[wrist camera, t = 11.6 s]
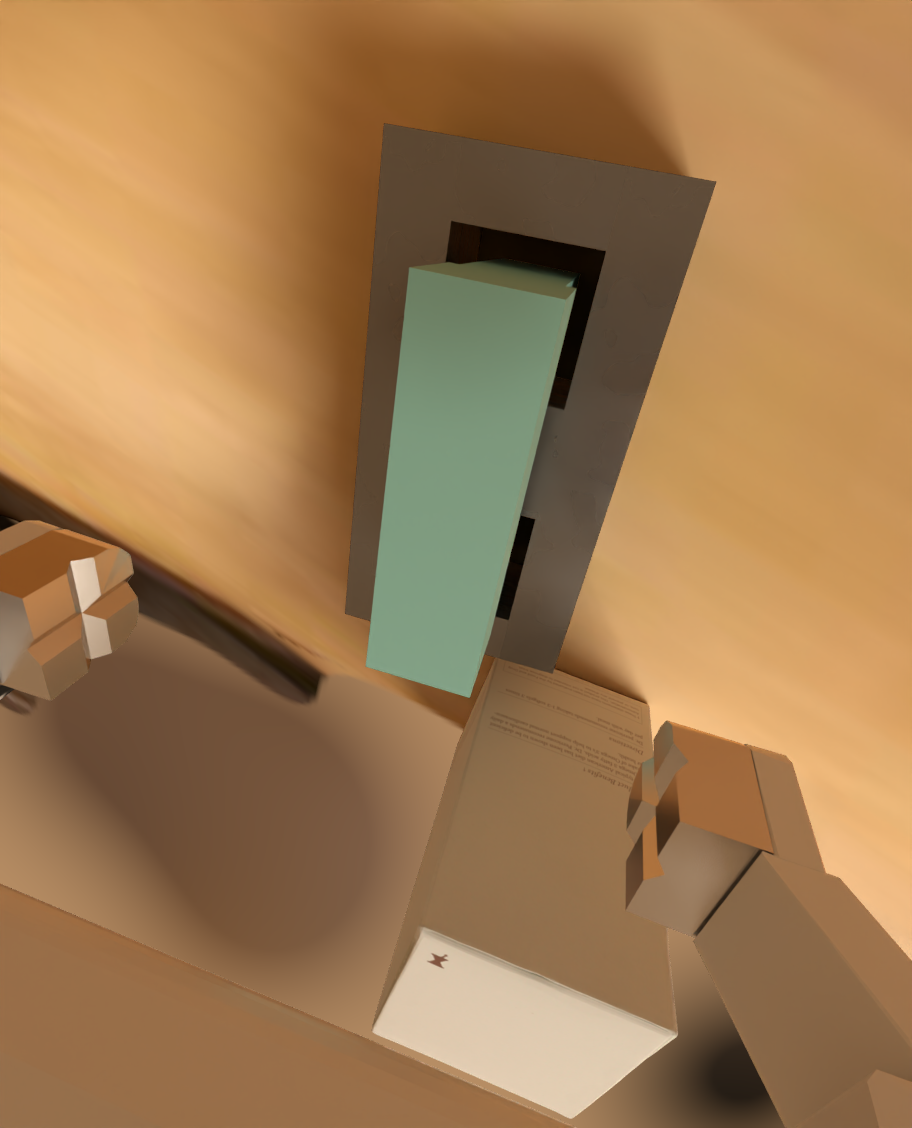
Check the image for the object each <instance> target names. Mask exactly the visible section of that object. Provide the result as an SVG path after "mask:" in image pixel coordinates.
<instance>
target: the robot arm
mask: <svg viewBox="0 0 912 1128" xmlns="http://www.w3.org/2000/svg"><path fill="white" fill-rule="evenodd" d="M133 574H134V572H133V567H132V562H131V557H130V554H128V553H127V552H125V551H124V550H122V549H121V548H119V547H116V546H113V545H110V544H107V543H104V542H101V541H98V540H95V539H93V538H90V537H87V536H84V535H81V534H78V533H75V532H72V531H69V530H66V529H65V530H64V529H61V528H59V527H56V526H53V525H50V524H47V523H44V522H41V521H22V522H20V523H18V524H16V525H14V526H11V527H9V528H7V529H5V530H2V531H0V684H1V685H4V686H7V687H10V688H13V689H16V690H19V691H22V692H25V693H28V694H31V695H34V696H37V697H40V698H44V699H47V700H50V701H51V700H52V699H54V698H55V697H56V696H58V695H59V694H60V693H61V692H63V691H64V690H65V689H67V688H68V687H69V686H70V685H72V684H73V683H74V682H76V681H77V680H78V679H79V678H81V677H82V676H83V675H85V674H86V673H87V672H88V671H89V666H90V662H91V659H93V658H96V657H100V656H103V655H107V654H110V653H112V652H113V651H115V650H116V649H117V648H118V647H120V646H121V645H122V644H123V643H124V642H125V641H126V640H127V639H128V637H129V635H130V634H131V632H132V630H133V629H134V627H135V626H136V623H137V618H138V613H139V607H138V599H137V596H136V595H135V593H134V592H133V590H132V589H131V587H130V586H129V585H128V583H127V581H128V580H129V579H130V578H131V576H132V575H133ZM626 831H627V832H628V834H629V836H630V837H631V839H632V841H633V842H634V844H635V845H634V847H633V849H632V851H631V853H630V855H629V856H628V858H627V860H626V909H625V911H628V912H630V913H633V914H635V915H638V916H640V917H643V918H645V919H648V920H650V921H653V922H656V923H658V924H661V925H663V926H666V927H668V928H671V929H673V930H676V931H678V932H681V933H684V934H686V935H688V936H691V937H694V938H695V939H694V941H693V942H694V944H695V946H696V948H697V950H698V952H699V954H700V956H701V958H702V960H703V962H704V964H705V966H706V968H707V970H708V972H709V974H710V976H711V978H712V980H713V982H714V984H715V986H716V988H717V990H718V992H719V994H720V996H721V998H722V1000H723V1002H724V1004H725V1006H726V1009H727V1011H728V1012H729V1015H730V1016H731V1019H732V1021H733V1023H734V1025H735V1027H736V1029H737V1031H738V1033H739V1035H740V1036H741V1039H742V1041H743V1043H744V1045H745V1047H746V1049H747V1051H748V1053H749V1055H750V1057H751V1059H752V1061H753V1063H754V1065H755V1067H756V1069H757V1071H758V1073H759V1075H760V1077H761V1079H762V1081H763V1083H764V1085H765V1087H766V1089H767V1091H768V1093H769V1095H770V1097H771V1099H772V1101H773V1103H774V1105H775V1107H776V1109H777V1112H778V1114H779V1115H780V1118H781V1120H782V1122H783V1124H784V1126H785V1128H912V961H911V960H910V958H909V957H908V956H907V955H906V954H905V953H904V952H903V950H902V949H901V948H900V947H899V946H898V945H897V943H896V942H895V941H894V940H893V939H892V938H891V937H890V935H889V934H888V933H887V932H886V931H885V930H884V928H883V927H882V926H881V925H880V924H879V923H878V922H877V920H876V919H875V918H874V917H873V916H872V915H871V914H870V912H869V911H868V910H867V909H866V908H865V907H864V905H863V904H862V903H861V902H860V901H859V900H858V899H857V897H856V896H855V895H854V894H853V893H852V892H851V890H850V889H849V888H848V887H847V886H846V885H845V884H844V882H843V881H842V880H841V879H840V878H838V877H835V876H833V875H830V874H827V873H826V871H825V868H824V865H823V862H822V858H821V855H820V852H819V849H818V846H817V842H816V839H815V836H814V833H813V829H812V826H811V823H810V820H809V816H808V813H807V810H806V807H805V803H804V800H803V797H802V794H801V790H800V787H799V784H798V781H797V777H796V774H795V771H794V768H793V764H792V762H791V761H790V760H789V759H788V758H787V757H786V756H785V755H782V754H778V753H775V752H772V751H768V750H765V749H761V748H758V747H755V746H751V745H748V744H744V745H743V744H741V743H738V742H735V741H732V740H729V739H725V738H722V737H719V736H716V735H712V734H709V733H706V732H703V731H699V730H696V729H693V728H690V727H686V726H683V725H680V724H677V723H673V722H670V721H666V722H665V723H664V724H663V725H662V726H661V727H660V729H659V731H658V733H657V735H656V736H655V738H654V757H653V758H651V759H649V760H647V761H644V762H642V764H641V766H640V768H639V770H638V772H637V775H636V777H635V779H634V782H633V786H632V789H631V793H630V796H629V802H628V810H627V829H626ZM0 1128H577V1127H575V1126H572V1125H570V1124H567V1123H565V1122H563V1121H560V1120H558V1119H556V1118H553V1117H551V1116H549V1115H546V1114H544V1113H541V1112H539V1111H537V1110H534V1109H532V1108H530V1107H527V1106H525V1105H523V1104H520V1103H518V1102H516V1101H513V1100H511V1099H508V1098H506V1097H504V1096H501V1095H499V1094H497V1093H494V1092H492V1091H489V1090H487V1089H485V1088H482V1087H480V1086H478V1085H475V1084H473V1083H471V1082H468V1081H466V1080H464V1079H461V1078H459V1077H456V1076H454V1075H452V1074H449V1073H447V1072H445V1071H442V1070H440V1069H437V1068H435V1067H433V1066H430V1065H428V1064H426V1063H423V1062H421V1061H419V1060H416V1059H414V1058H412V1057H409V1056H407V1055H405V1054H402V1053H400V1052H397V1051H395V1050H393V1049H390V1048H388V1047H385V1046H383V1045H381V1044H379V1043H376V1042H374V1041H371V1040H369V1039H367V1038H364V1037H362V1036H359V1035H357V1034H355V1033H353V1032H350V1031H348V1030H345V1029H343V1028H341V1027H338V1026H336V1025H334V1024H331V1023H329V1022H327V1021H324V1020H322V1019H319V1018H317V1017H315V1016H312V1015H310V1014H307V1013H305V1012H303V1011H300V1010H298V1009H296V1008H293V1007H291V1006H288V1005H286V1004H284V1003H282V1002H279V1001H277V1000H274V999H272V998H270V997H267V996H265V995H263V994H260V993H258V992H256V991H253V990H251V989H248V988H246V987H244V986H242V985H239V984H237V983H234V982H232V981H230V980H227V979H225V978H222V977H220V976H218V975H216V974H213V973H211V972H208V971H206V970H203V969H201V968H199V967H197V966H194V965H191V964H190V963H187V962H184V961H182V960H180V959H178V958H175V957H173V956H170V955H168V954H166V953H163V952H161V951H159V950H156V949H154V948H151V947H149V946H147V945H144V944H142V943H140V942H137V941H135V940H133V939H130V938H128V937H126V936H123V935H121V934H119V933H116V932H114V931H112V930H109V929H107V928H104V927H102V926H100V925H97V924H95V923H93V922H90V921H88V920H86V919H83V918H81V917H78V916H76V915H74V914H71V913H69V912H66V911H64V910H62V909H60V908H57V907H55V906H52V905H50V904H48V903H45V902H43V901H40V900H38V899H36V898H33V897H31V896H29V895H26V894H24V893H22V892H19V891H17V890H14V889H12V888H10V887H8V886H5V885H3V884H0Z"/></svg>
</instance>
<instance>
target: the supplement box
mask: <svg viewBox="0 0 912 1128" xmlns="http://www.w3.org/2000/svg"><path fill="white" fill-rule="evenodd" d="M653 757H654V751H653V742H652V731H651V720H650V708H649V705H647V704H645V703H642V702H640V701H637V700H634V699H632V698H629V697H626V696H624V695H621V694H618V693H616V692H613V691H611V690H608V689H605V688H603V687H600V686H598V685H595V684H592V683H590V682H587V681H585V680H582V679H580V678H577V677H574V676H572V675H569V674H566V673H564V672H561V671H559V670H556V669H554V671H553V674H551V673H547V672H544V671H540V670H537V669H534V668H530V667H527V666H523V665H520V664H516V663H513V662H510V661H506V660H503V659H499V658H495V660H494V662H493V664H492V667H491V669H490V671H489V674H488V676H487V678H486V680H485V682H484V685H483V687H482V689H481V691H480V693H479V696H478V698H477V700H476V702H475V704H474V707H473V709H472V711H471V714H470V716H469V718H468V721H467V723H466V725H465V728H464V730H463V733H462V735H461V737H460V740H459V742H458V745H457V747H456V750H455V754H454V757H453V761H452V764H451V768H450V771H449V774H448V777H447V781H446V784H445V787H444V791H443V794H442V798H441V801H440V804H439V807H438V811H437V814H436V817H435V820H434V823H433V827H432V830H431V833H430V836H429V840H428V843H427V846H426V849H425V853H424V856H423V859H422V862H421V866H420V869H419V872H418V875H417V878H416V881H415V885H414V888H413V891H412V894H411V898H410V901H409V904H408V908H407V911H406V914H405V918H404V921H403V924H402V928H401V931H400V934H399V937H398V941H397V944H396V947H395V950H394V954H393V957H392V960H391V964H390V967H389V970H388V974H387V978H386V981H385V984H384V987H383V990H382V994H381V997H380V1000H379V1004H378V1007H377V1011H376V1014H375V1018H374V1022H373V1026H372V1032H374V1033H375V1034H377V1035H379V1036H382V1037H384V1038H386V1039H389V1040H391V1041H394V1042H396V1043H399V1044H401V1045H403V1046H406V1047H408V1048H410V1049H413V1050H415V1051H417V1052H420V1053H422V1054H424V1055H427V1056H429V1057H432V1058H434V1059H436V1060H439V1061H441V1062H443V1063H446V1064H448V1065H450V1066H453V1067H455V1068H457V1069H459V1070H462V1071H464V1072H466V1073H468V1074H471V1075H473V1076H475V1077H478V1078H480V1079H482V1080H484V1081H487V1082H489V1083H491V1084H494V1085H496V1086H498V1087H500V1088H503V1089H505V1090H507V1091H510V1092H512V1093H514V1094H517V1095H519V1096H521V1097H523V1098H526V1099H528V1100H530V1101H533V1102H535V1103H537V1104H539V1105H542V1106H544V1107H546V1108H549V1109H551V1110H553V1111H555V1112H558V1113H559V1114H562V1115H563V1116H565V1117H568V1118H574V1117H575V1116H576V1115H577V1114H579V1113H580V1112H582V1111H583V1110H584V1109H585V1108H587V1107H588V1106H589V1105H591V1104H592V1103H593V1102H594V1101H595V1100H597V1099H598V1098H599V1097H600V1096H601V1095H603V1094H604V1093H606V1092H607V1091H608V1090H609V1089H611V1088H612V1087H613V1086H614V1085H616V1084H617V1083H618V1082H619V1081H620V1080H621V1079H623V1078H624V1076H626V1075H627V1074H628V1073H629V1072H631V1071H632V1070H633V1069H634V1068H636V1067H637V1066H638V1065H639V1064H640V1063H641V1062H643V1061H644V1060H645V1059H647V1058H648V1057H650V1056H651V1055H652V1054H654V1053H655V1052H657V1051H658V1050H659V1049H661V1048H662V1047H663V1046H665V1045H666V1044H667V1043H669V1042H670V1041H672V1040H673V1039H674V1038H676V1037H677V1035H678V1029H677V1020H676V1012H675V1003H674V995H673V985H672V976H671V965H670V955H669V941H668V929H667V927H666V926H663V925H661V924H658V923H656V922H653V921H650V920H648V919H645V918H643V917H640V916H638V915H635V914H633V913H630V912H628V911H625V909H626V860H627V858H628V856H629V855H630V853H631V851H632V849H633V847H634V845H635V844H634V842H633V841H632V839H631V837H630V836H629V834H628V832H627V831H626V829H627V810H628V802H629V796H630V793H631V789H632V786H633V782H634V779H635V777H636V775H637V772H638V770H639V768H640V766H641V764H642V762H644V761H647V760H649V759H651V758H653Z"/></svg>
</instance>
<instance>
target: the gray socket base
mask: <svg viewBox="0 0 912 1128" xmlns="http://www.w3.org/2000/svg"><path fill="white" fill-rule="evenodd" d="M715 184H716V182H715V181H709V180H704V179H698V178H692V177H687V176H681V175H675V174H670V173H664V172H658V171H653V170H647V169H641V168H636V167H630V166H624V165H618V164H613V163H607V162H601V161H596V160H590V159H584V158H579V157H573V156H567V155H562V154H556V153H550V152H545V151H539V150H533V149H528V148H522V147H516V146H510V145H505V144H499V143H493V142H488V141H482V140H476V139H471V138H465V137H459V136H454V135H448V134H442V133H437V132H431V131H425V130H419V129H414V128H408V127H402V126H397V125H391V124H385V123H384V130H383V142H382V155H381V167H380V180H379V193H378V205H377V218H376V230H375V243H374V256H373V268H372V281H371V293H370V306H369V319H368V331H367V344H366V356H365V369H364V382H363V394H362V407H361V419H360V432H359V445H358V457H357V470H356V482H355V495H354V508H353V520H352V533H351V545H350V558H349V571H348V583H347V596H346V608H345V614H348V615H351V616H355V617H358V618H362V619H365V620H369V621H371V614H372V605H373V596H374V587H375V577H376V568H377V559H378V550H379V541H380V532H381V523H382V513H383V504H384V495H385V486H386V477H387V468H388V459H389V450H390V440H391V431H392V422H393V413H394V404H395V395H396V386H397V376H398V367H399V358H400V349H401V340H402V331H403V322H404V313H405V303H406V294H407V285H408V276H409V267H416V266H424V265H431V264H439V263H447V262H450V263H455V264H465V263H472V262H477V256H478V250H479V243H480V237H481V231H482V227H485V228H490V229H495V230H501V231H506V232H511V233H516V234H521V235H526V236H531V237H536V238H542V239H547V240H552V241H557V242H562V243H567V244H572V245H577V246H583V247H588V248H593V249H598V250H603V251H606V254H605V258H604V262H603V265H602V269H601V273H600V277H599V281H598V284H597V288H596V292H595V296H594V299H593V303H592V307H591V311H590V315H589V318H588V322H587V326H586V330H585V334H584V337H583V341H582V345H581V349H580V353H579V356H578V360H577V364H576V368H575V371H574V375H573V379H572V380H568V379H563V378H559V377H554V381H553V385H552V389H551V393H550V397H549V401H548V405H547V409H546V413H545V417H544V421H543V425H542V429H541V433H540V437H539V441H538V445H537V449H536V454H535V458H534V462H533V466H532V470H531V474H530V478H529V482H528V486H527V490H526V494H525V498H524V502H523V506H522V510H521V514H520V515H521V516H525V517H529V518H532V519H535V523H534V527H533V531H532V534H531V538H530V542H529V546H528V550H527V553H526V557H525V561H524V565H520V564H516V563H512V562H508V566H507V570H506V574H505V578H504V583H503V587H502V591H501V595H500V599H499V603H498V607H497V611H496V615H495V619H494V623H493V627H492V631H491V635H490V638H489V641H488V644H487V647H486V650H485V653H484V654H485V655H489V656H492V657H496V658H499V659H503V660H506V661H510V662H513V663H516V664H520V665H523V666H527V667H530V668H534V669H537V670H540V671H544V672H547V673H551V674H553V671H554V668H555V665H556V662H557V659H558V656H559V653H560V650H561V647H562V644H563V641H564V638H565V635H566V632H567V629H568V626H569V623H570V620H571V617H572V614H573V611H574V608H575V605H576V602H577V599H578V596H579V593H580V590H581V587H582V584H583V581H584V578H585V575H586V572H587V569H588V566H589V563H590V560H591V557H592V554H593V551H594V548H595V545H596V542H597V539H598V536H599V533H600V530H601V527H602V524H603V521H604V518H605V515H606V512H607V509H608V506H609V503H610V500H611V497H612V494H613V491H614V488H615V485H616V482H617V479H618V476H619V473H620V470H621V467H622V464H623V461H624V458H625V455H626V452H627V449H628V446H629V443H630V440H631V437H632V434H633V431H634V428H635V425H636V422H637V419H638V416H639V413H640V410H641V407H642V404H643V401H644V398H645V395H646V392H647V389H648V386H649V383H650V380H651V377H652V374H653V371H654V368H655V365H656V362H657V359H658V356H659V353H660V350H661V347H662V344H663V341H664V338H665V335H666V332H667V329H668V326H669V323H670V320H671V317H672V314H673V311H674V308H675V305H676V302H677V299H678V296H679V293H680V290H681V287H682V284H683V281H684V278H685V275H686V272H687V269H688V266H689V263H690V260H691V257H692V254H693V251H694V248H695V245H696V242H697V238H698V235H699V232H700V229H701V226H702V223H703V220H704V217H705V214H706V211H707V208H708V205H709V202H710V199H711V196H712V193H713V190H714V187H715Z"/></svg>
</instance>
